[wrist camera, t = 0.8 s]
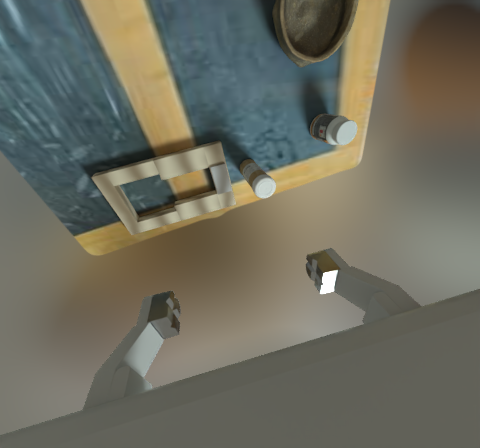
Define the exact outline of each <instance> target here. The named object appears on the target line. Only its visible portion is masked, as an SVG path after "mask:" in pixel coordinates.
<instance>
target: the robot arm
mask: <svg viewBox="0 0 480 448" xmlns="http://www.w3.org/2000/svg"><path fill="white" fill-rule="evenodd" d="M306 259H307V261H308V262H307V264H306V271H307V274H308V276H309V277H310V278H311V279H312V280H313V281H315V287H316V288H317V290H318V291H319V293H320V294H323V293H327V292H331V291H334V292H336V293H337V294H339V295H341V296H342V297H344V298H346V299H347V300H348V301H350V302H351V303H353V304H355V305H356V306H358V307H360V308H361V309H362V310H364V311H365V312H366V313H365V315H364V318H363V323H364V324H363V325H360V326H356V327H353V328H350V329H346V330H343V331H340V332H337V333H333V334H330V335H327V336H324V337H320V338H317V339H314V340H310V341H307V342H304V343H301V344H297V345H294V346H291V347H287V348H284V349H281V350H278V351H275V352H271V353H268V354H265V355H261V356H258V357H255V358H251V359H248V360H245V361H242V362H239V363H235V364H232V365H228V366H225V367H222V368H219V369H216V370H212V371H209V372H206V373H202V374H199V375H196V376H193V377H190V378H186V379H183V380H179V381H176V382H173V383H170V384H166V385H163V386H160V387H157V388H153V389H152V385H151V383H150V382H148V381H147V380H146V379H144V376H145V374H146V372H147V371H148V369H149V367H150V365H151V363H152V361H153V359H154V358H155V355H156V354H157V352H158V350H159V349H160V347H161V345H162V343H163V341H164V339H166V338H169V337H172V336H175V335H179V329H180V322H179V320H178V318H179V316H180V311H181V310H180V304H179V301H178V299H177V298H174V297H175V294H174V292H173V291H169V292H164V293H160V294H156V295H152V296H148V297H145V298H144V299H143V301H142V305H141V309H140V314H139V317H138V321H137V325H136V326H134V327H133V328H132V329H131V330H130V332H129V333H128V334H127V336H126V337H125V338H124V339H123V341H122V342H121V343H120V344H119V345H118V347H117V348H116V349H115V350H114V352H113V353H112V354H111V355H110V357H109V358H108V359H107V360H106V362H105V363H104V364H103V365H102V366H101V368H100V369H99V370H98V371H97V373H96V374H95V377H94V380H93V382H92V385H91V388H90V391H89V393H88V397H87V400H86V402H85V405H84V407H83V410H81V411H78V412H75V413H72V414H69V415H65V416H62V417H59V418H55V419H52V420H49V421H45V422H42V423H39V424H36V425H33V426H29V427H26V428H22V429H19V430H16V431H13V432H9V433H6V434H3V435H0V448H480V289H477V290H474V291H471V292H468V293H464V294H461V295H458V296H455V297H451V298H448V299H445V300H441V301H438V302H435V303H431V304H429V305H425V306H420V305H419V304H418V303H417V302H416V301H415V300H414V299H413V298H412V297H411V296H409V295H408V294H407V293H406V292H405V291H404V290H403V289H402V288H401V287H399V286H398V285H396V284H393V283H391V282H388V281H386V280H384V279H381V278H379V277H377V276H374V275H372V274H369V273H367V272H364V271H362V270H360V269H357V268H355V267H350V266H348V264H347V263H346V262H345V261H344V260H343V259H342V258H341V257H340V256H339V255H338V254H337V253H336V252H335V251H334V250H333V249H332V248H330V249H326V250H322V251H318V252H315V253H311V254H308V255H307V258H306Z"/></svg>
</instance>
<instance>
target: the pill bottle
mask: <svg viewBox="0 0 480 448" xmlns="http://www.w3.org/2000/svg"><path fill="white" fill-rule="evenodd" d="M356 132H357V125H356V123H355V122H354V121H352V120H348V119H347V118H346V117H344V116H338V115H331V114H320V115H318V116H317V117H315V118H314V120H313V121H312V123H311V126H310V134H311V136H312V137H313V138H314V139H317V140H320V141H323V142H326V143H329V144H332V145H336V144H340V145H346V144H348V143H349V142H351V141H352V140H353V138H354V137H355V135H356Z"/></svg>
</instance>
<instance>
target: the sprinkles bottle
mask: <svg viewBox="0 0 480 448" xmlns="http://www.w3.org/2000/svg"><path fill="white" fill-rule="evenodd" d="M240 172H241V174H242V175H243V176H244V177H245V179H246V181H247V182H248V183H249V185H250V186H251V187H252V189H253V191H254V193H255V194H256V195H257V196H258V197H260V198H267V197H269V196H271V195H272V194H273V193H274V191H275V188H276V184H275V181H274V180H273V179H272V178H271V177H270V176H269V175H267V174H266V173H265V172H264V171H263V170H262V169H261V168H260V167H259V166H258V165H257V164H256V163H255V161H253V160H251V159H247V160H244V161H243V162H242V163H241V165H240Z"/></svg>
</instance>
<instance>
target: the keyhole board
mask: <svg viewBox="0 0 480 448" xmlns="http://www.w3.org/2000/svg"><path fill="white" fill-rule="evenodd" d="M208 167H209V168H210V172H211V175H212V178H213V182H214V185H215V188H216V190H213V191H210V192H206V193H203V194H199V195H196V196H192V197H189V198H185V199H182V200H178V201H175V205H174V206H175V207H173V208H170V209H166V210H163V211H159V212H156V213H152V214H149V215H145V216H142V217H139V216H138V214H137V213H136V211H135V209H134V208H133V206H132V205H131V203H130V202H129V200H128V198H127V197H126V195H125V194H124V192H123V190H122V189H121V187H120V186H119V185H121V184H124V183H128V182H132V181H135V180H139V179H143V178H146V177H150V176H154V175H157V174H160V177H161V179H162V180H165V179H168V178H172V177H176V176H179V175H183V174H187V173H190V172H194V171H197V170H201V169H205V168H208ZM91 178H92V180H93V181H94V182H95V184H96V185H97V187H98V188H99V189H100V191H101V192H102V194H103V195H104V196H105V198H106V199H107V201H108V202H109V204H110V205H111V206H112V208H113V209H114V211H115V212H116V213H117V215H118V216H119V218H120V219H121V221H122V222H123V223H124V225H125V226H126V228H127V229H128V230H129V232H130V233H131V235H134V234H137V233H140V232H144V231H147V230H151V229H154V228H157V227H161V226H164V225H168V224H171V223H174V222H178V221H181V220H185V219H188V218H191V217H195V216H198V215H202V214H205V213H208V212H212V211H215V210H219V209H222V208H225V207H229V206H232V205H236V203H235V198H234V194H233V190H232V186H231V182H230V178H229V173H228V169H227V165H226V161H225V157H224V153H223V149H222V144H221V142H220V140H218V141H215V142H211V143H207V144H203V145H200V146H196V147H192V148H188V149H185V150H181V151H177V152H173V153H170V154H166V155H162V156H158V157H155V158H151V159H147V160H143V161H140V162H136V163H132V164H128V165H125V166H121V167H117V168H113V169H110V170H106V171H102V172H98V173H95V174H94V175H93V176H92V177H91Z"/></svg>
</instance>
